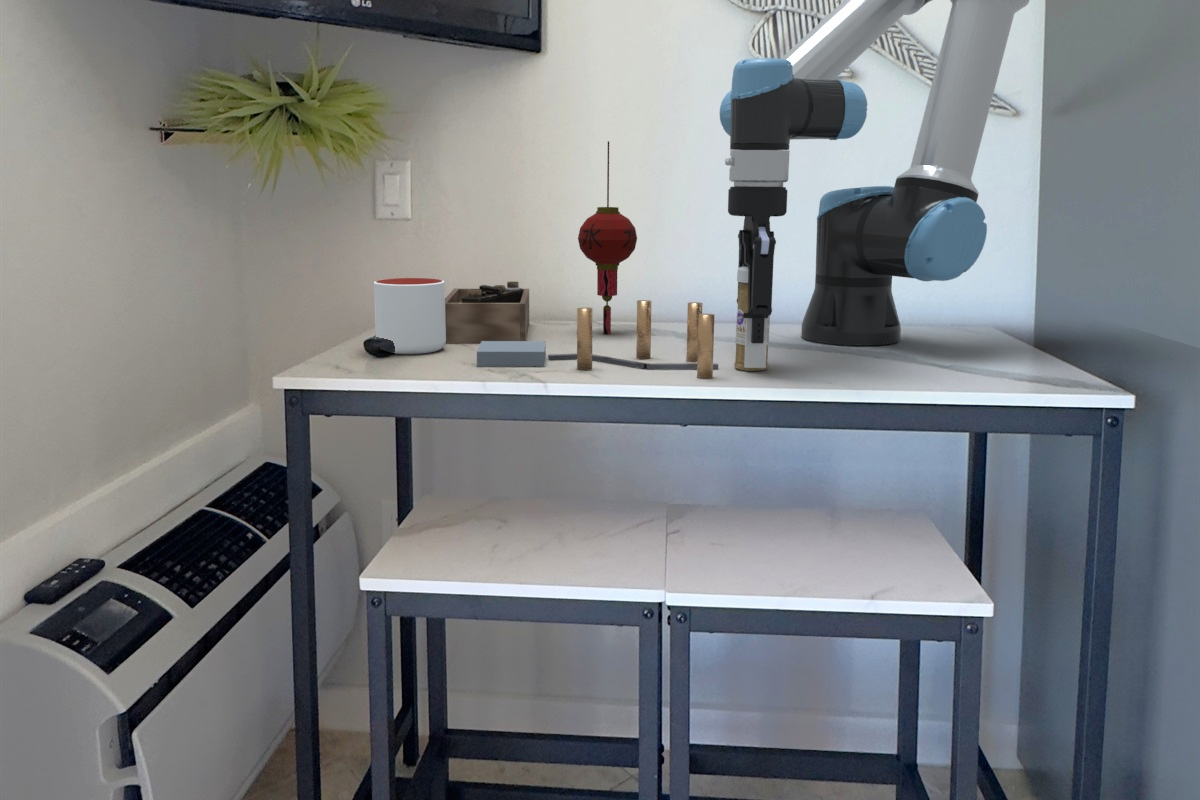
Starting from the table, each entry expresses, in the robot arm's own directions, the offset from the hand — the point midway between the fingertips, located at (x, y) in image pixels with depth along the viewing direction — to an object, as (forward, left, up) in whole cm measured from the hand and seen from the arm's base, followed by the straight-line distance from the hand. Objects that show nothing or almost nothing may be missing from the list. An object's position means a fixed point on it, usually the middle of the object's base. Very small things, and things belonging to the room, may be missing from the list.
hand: (751, 363), depth 145 cm
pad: (+32, -6, -1) cm, 33 cm away
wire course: (+16, -1, -1) cm, 16 cm away
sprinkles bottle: (0, 0, -1) cm, 1 cm away
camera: (+37, -30, -1) cm, 48 cm away
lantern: (+18, -31, -1) cm, 36 cm away
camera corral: (+37, -31, -1) cm, 49 cm away
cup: (+47, -15, -1) cm, 49 cm away
